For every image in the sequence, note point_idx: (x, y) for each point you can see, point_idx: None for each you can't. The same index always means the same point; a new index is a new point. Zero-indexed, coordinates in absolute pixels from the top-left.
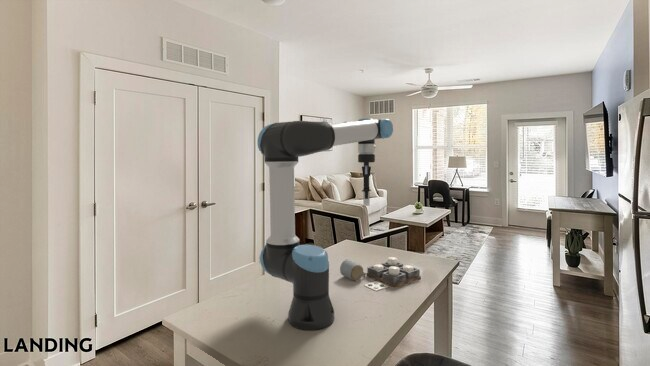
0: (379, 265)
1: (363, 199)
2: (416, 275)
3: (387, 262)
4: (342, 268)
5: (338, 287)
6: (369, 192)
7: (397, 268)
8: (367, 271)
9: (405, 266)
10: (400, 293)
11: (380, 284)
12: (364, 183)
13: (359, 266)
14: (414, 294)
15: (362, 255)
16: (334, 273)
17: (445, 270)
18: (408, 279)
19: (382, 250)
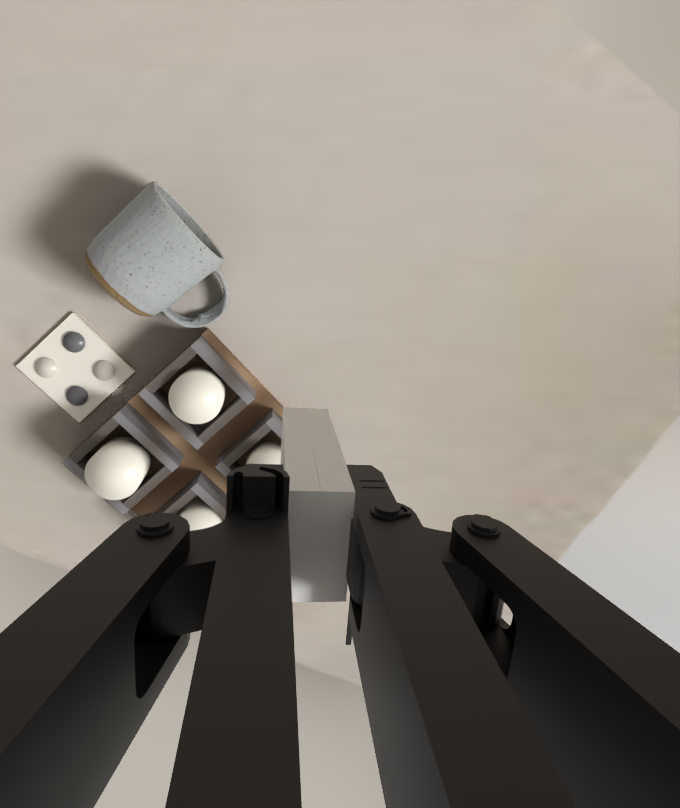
0: (205, 404)
1: (284, 435)
2: None
3: (270, 447)
4: (136, 196)
5: (28, 182)
6: (304, 588)
7: (109, 490)
8: (200, 337)
9: (203, 525)
10: (15, 464)
11: (92, 389)
12: (3, 658)
13: (112, 296)
14: (16, 515)
15: (528, 319)
16: (228, 155)
17: (308, 660)
18: (146, 513)
19: (606, 429)
